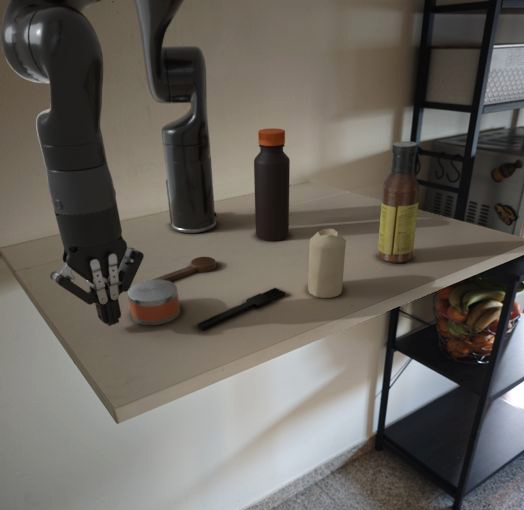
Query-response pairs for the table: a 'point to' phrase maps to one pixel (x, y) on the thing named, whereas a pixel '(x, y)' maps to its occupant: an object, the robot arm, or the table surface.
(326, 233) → the candle
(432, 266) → the table surface
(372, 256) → the table surface
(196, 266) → the spoon
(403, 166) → the sauce bottle
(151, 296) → the tin can
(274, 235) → the vinegar
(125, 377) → the table surface
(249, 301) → the fork
